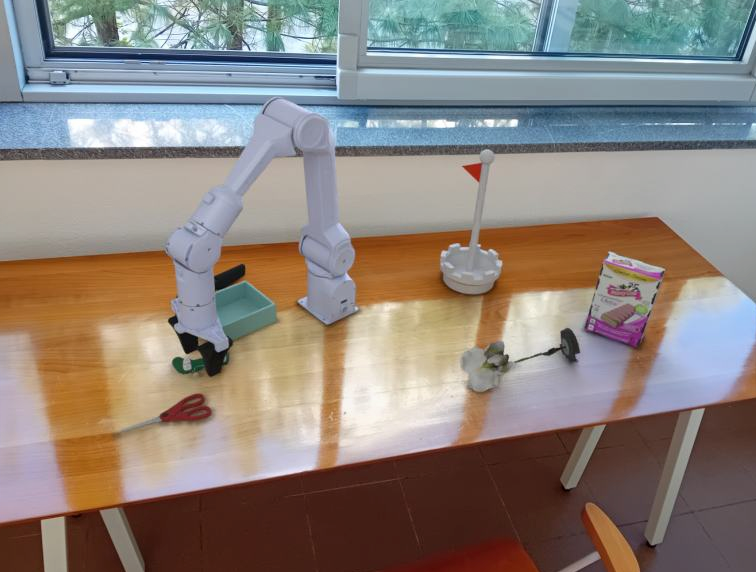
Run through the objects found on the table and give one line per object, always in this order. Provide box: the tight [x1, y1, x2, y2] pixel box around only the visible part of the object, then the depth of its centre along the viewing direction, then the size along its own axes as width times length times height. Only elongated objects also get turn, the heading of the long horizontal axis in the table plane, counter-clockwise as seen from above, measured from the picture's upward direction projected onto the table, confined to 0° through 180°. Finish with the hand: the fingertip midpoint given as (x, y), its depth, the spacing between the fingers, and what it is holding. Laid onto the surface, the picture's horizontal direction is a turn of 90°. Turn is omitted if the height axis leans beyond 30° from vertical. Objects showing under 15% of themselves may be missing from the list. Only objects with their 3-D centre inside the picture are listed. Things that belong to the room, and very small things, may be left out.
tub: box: [215, 279, 277, 342], centre depth 136 cm, size 10×13×4 cm
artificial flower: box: [459, 327, 581, 393], centre depth 131 cm, size 9×22×10 cm, turn 110°
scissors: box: [115, 393, 212, 434], centre depth 114 cm, size 5×14×1 cm, turn 123°
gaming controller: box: [171, 351, 230, 376], centre depth 124 cm, size 9×4×6 cm
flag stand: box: [439, 148, 503, 295], centre depth 149 cm, size 13×13×30 cm
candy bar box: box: [584, 251, 666, 349], centre depth 141 cm, size 11×5×16 cm, turn 65°
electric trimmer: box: [175, 263, 246, 299], centre depth 144 cm, size 4×16×3 cm, turn 142°
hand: (202, 362), depth 124 cm, fingers closed on gaming controller, 7 cm apart
